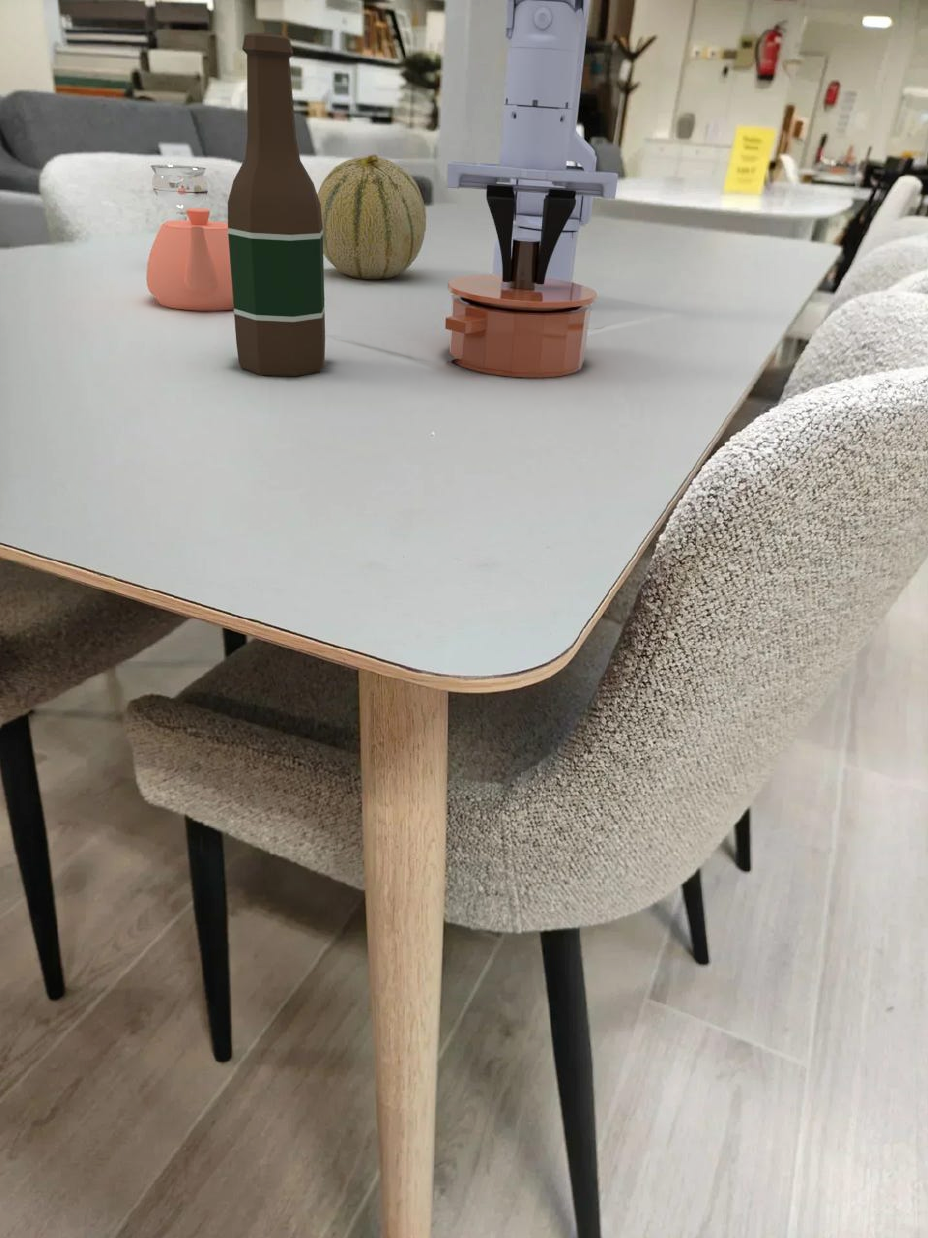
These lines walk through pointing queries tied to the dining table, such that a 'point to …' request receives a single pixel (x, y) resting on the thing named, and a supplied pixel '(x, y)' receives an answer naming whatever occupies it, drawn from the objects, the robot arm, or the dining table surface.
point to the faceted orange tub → (517, 339)
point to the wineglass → (180, 187)
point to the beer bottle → (275, 228)
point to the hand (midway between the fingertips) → (522, 281)
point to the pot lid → (522, 285)
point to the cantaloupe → (371, 218)
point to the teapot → (191, 264)
